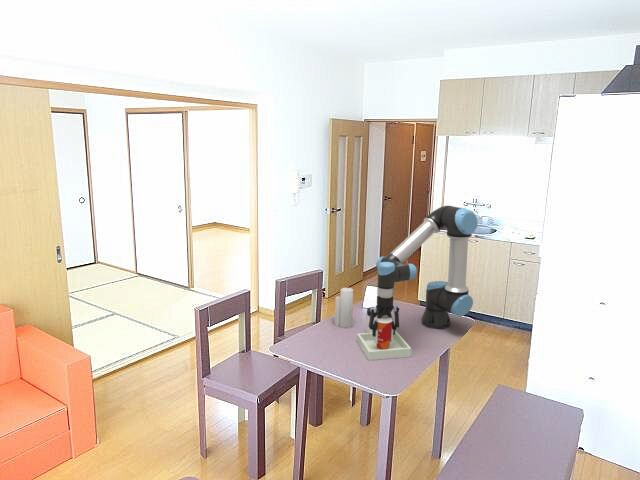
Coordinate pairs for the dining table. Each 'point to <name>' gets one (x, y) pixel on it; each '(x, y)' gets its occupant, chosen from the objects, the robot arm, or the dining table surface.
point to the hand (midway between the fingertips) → (383, 341)
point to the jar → (369, 319)
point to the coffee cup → (384, 332)
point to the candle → (344, 308)
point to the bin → (373, 353)
